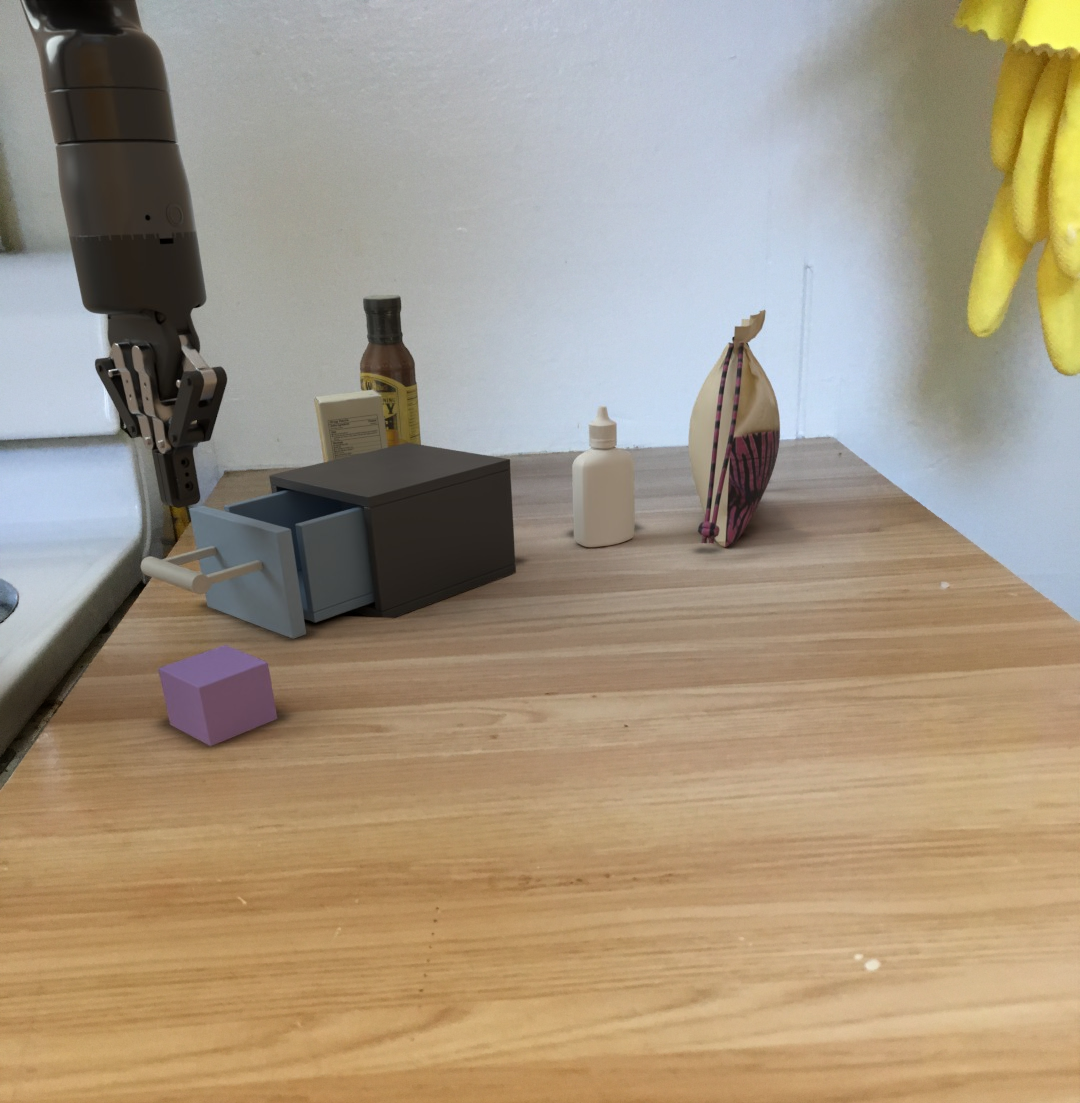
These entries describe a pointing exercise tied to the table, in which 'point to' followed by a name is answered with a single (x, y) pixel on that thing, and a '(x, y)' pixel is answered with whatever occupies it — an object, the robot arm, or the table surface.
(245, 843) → the table surface
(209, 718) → the block
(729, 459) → the pouch
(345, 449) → the cosmetic box
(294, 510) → the blue drawer
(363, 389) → the sauce bottle
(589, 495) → the eye dropper bottle
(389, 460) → the drawer cabinet
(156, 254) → the robot arm
